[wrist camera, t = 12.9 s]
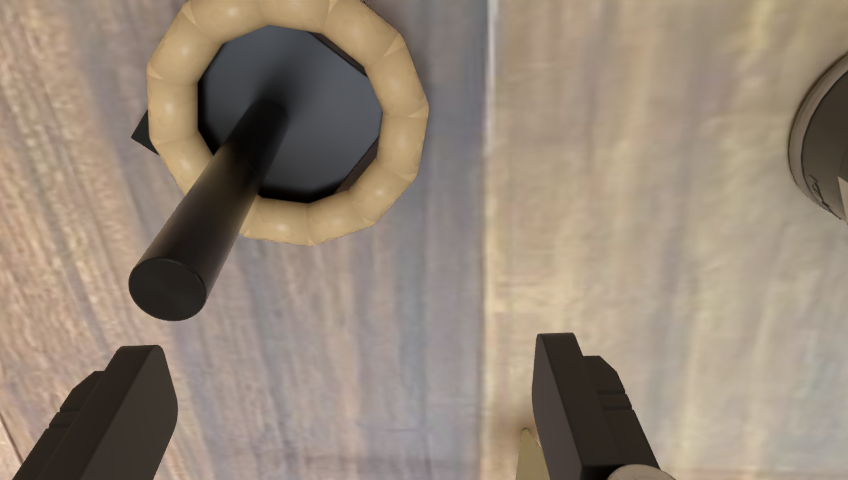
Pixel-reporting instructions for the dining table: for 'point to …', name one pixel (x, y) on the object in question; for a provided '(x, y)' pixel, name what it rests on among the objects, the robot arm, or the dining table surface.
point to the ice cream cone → (531, 459)
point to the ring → (352, 32)
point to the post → (256, 153)
